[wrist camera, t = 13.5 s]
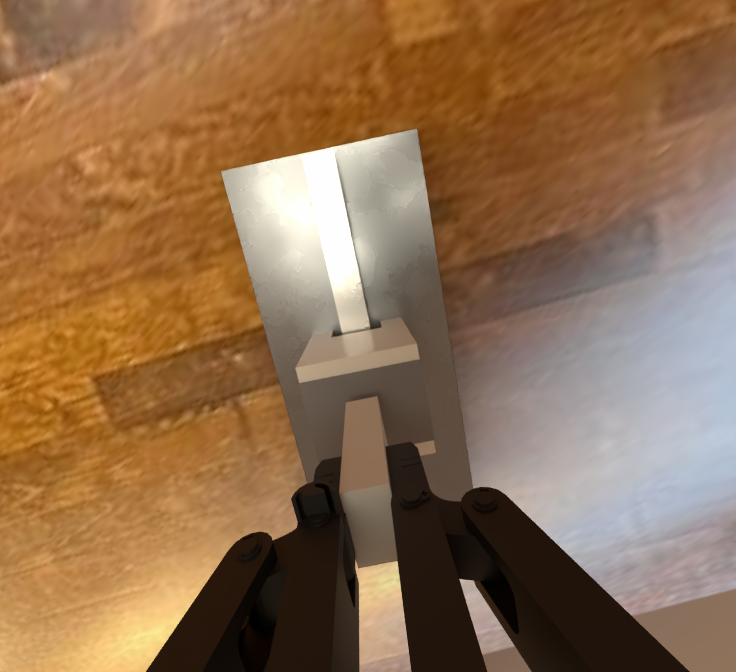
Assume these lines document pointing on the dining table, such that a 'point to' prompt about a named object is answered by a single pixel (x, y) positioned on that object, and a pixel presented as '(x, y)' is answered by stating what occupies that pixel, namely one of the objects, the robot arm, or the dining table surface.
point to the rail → (382, 273)
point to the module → (365, 385)
